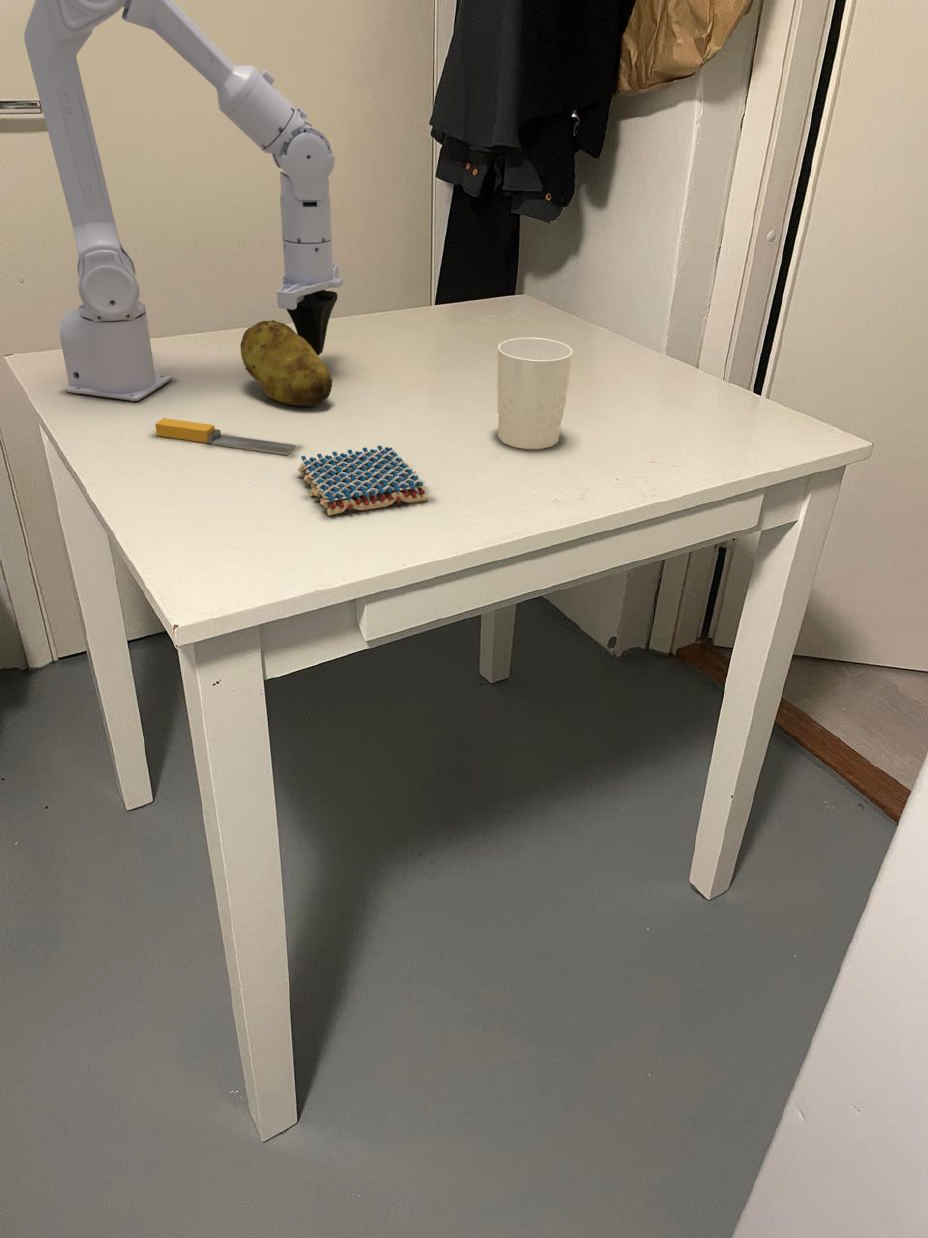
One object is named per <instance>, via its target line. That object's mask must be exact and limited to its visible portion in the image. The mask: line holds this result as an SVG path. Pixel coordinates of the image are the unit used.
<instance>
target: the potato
mask: <svg viewBox="0 0 928 1238" xmlns="http://www.w3.org/2000/svg"><path fill="white" fill-rule="evenodd" d="M239 346H240V357H241V360H242V362H243V363H242V364H243V365H244V367H245V370H246V371H247V373H248V374H249V375H250V376H251V377H252V378H253V379H255V380H256V381H257V382H258V383H259V385H260V387H261V388H262V391H263V392H264V393H265V395H267V396H268V397H269V398H272V400H274V401H276V402H279V403H280V404H281V403H282V404H286V405H290V406H300V407H301V406H302V407H303V406H304V407H305V406H307V407H315V406H316V405H318V404H321V403H323V402H324V401H326V400H327V399H328V398H329V396H330V394H331V392H332V388H333V379H332V375H331V373H330V371H329V369H328V368H327V366H326V364H325V363H324V362H323V360H322V359H321V357H319V356H320V355H317V354H316V353H315V351H314V350H313V348H312V345H310V343H308V342H307V341H306V340H305V339H303V338H302V337H300V336H299V335H298V334H297V332H295V331H294V329H292V328H291V327H290V326H289V325H287V324H286V323H284V322H280V321H276V320H274V319H273V320H262V321H259V322H257V323H256V324H254V325H252V326H250V327H248V328H247V329H246V330H245V331H244V332H243V335H242V338H241V342H240V344H239Z"/></svg>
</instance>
